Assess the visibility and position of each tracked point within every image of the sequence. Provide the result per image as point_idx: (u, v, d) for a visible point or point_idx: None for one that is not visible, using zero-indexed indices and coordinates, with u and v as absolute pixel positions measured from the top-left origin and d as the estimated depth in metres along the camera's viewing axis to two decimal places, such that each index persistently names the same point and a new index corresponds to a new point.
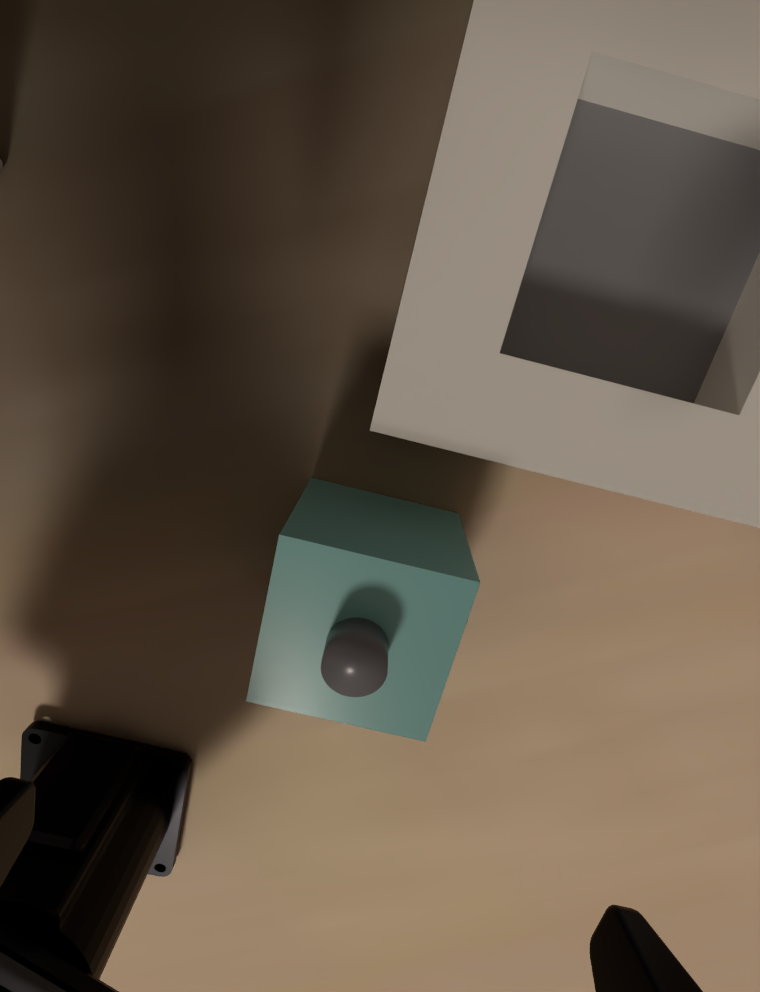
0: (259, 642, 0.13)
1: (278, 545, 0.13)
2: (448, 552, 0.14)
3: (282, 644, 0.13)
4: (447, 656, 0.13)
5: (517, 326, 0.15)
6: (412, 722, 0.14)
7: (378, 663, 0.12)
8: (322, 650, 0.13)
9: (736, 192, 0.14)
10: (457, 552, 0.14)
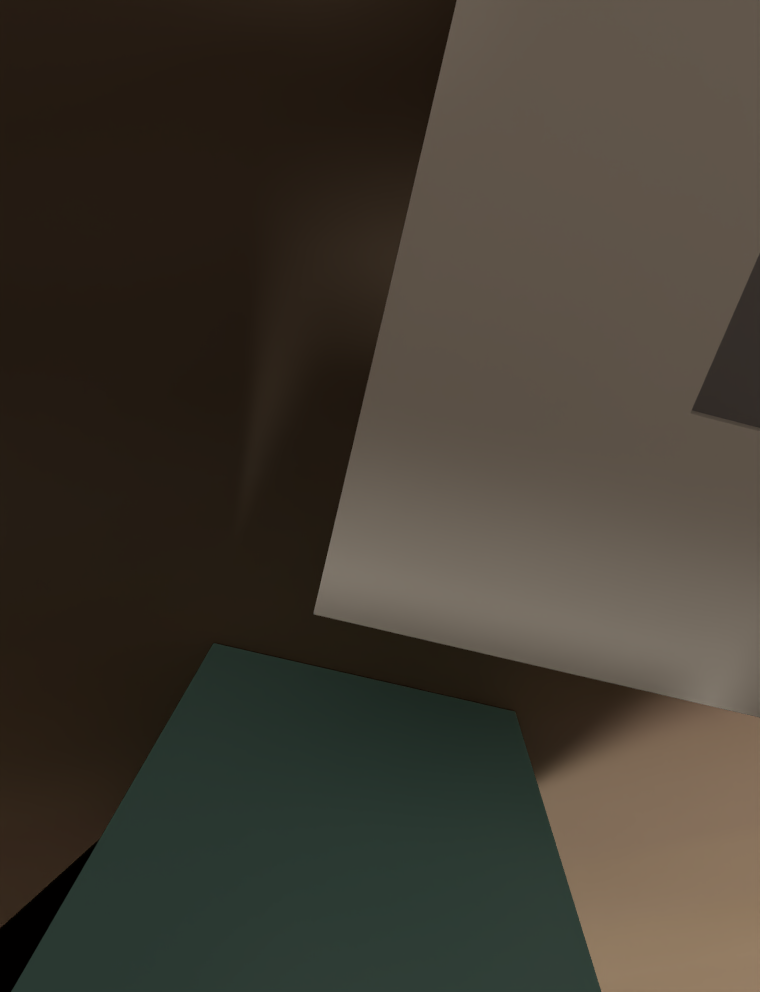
0: None
1: None
2: (529, 959, 0.05)
3: None
4: None
5: None
6: None
7: None
8: None
9: None
10: (552, 948, 0.05)
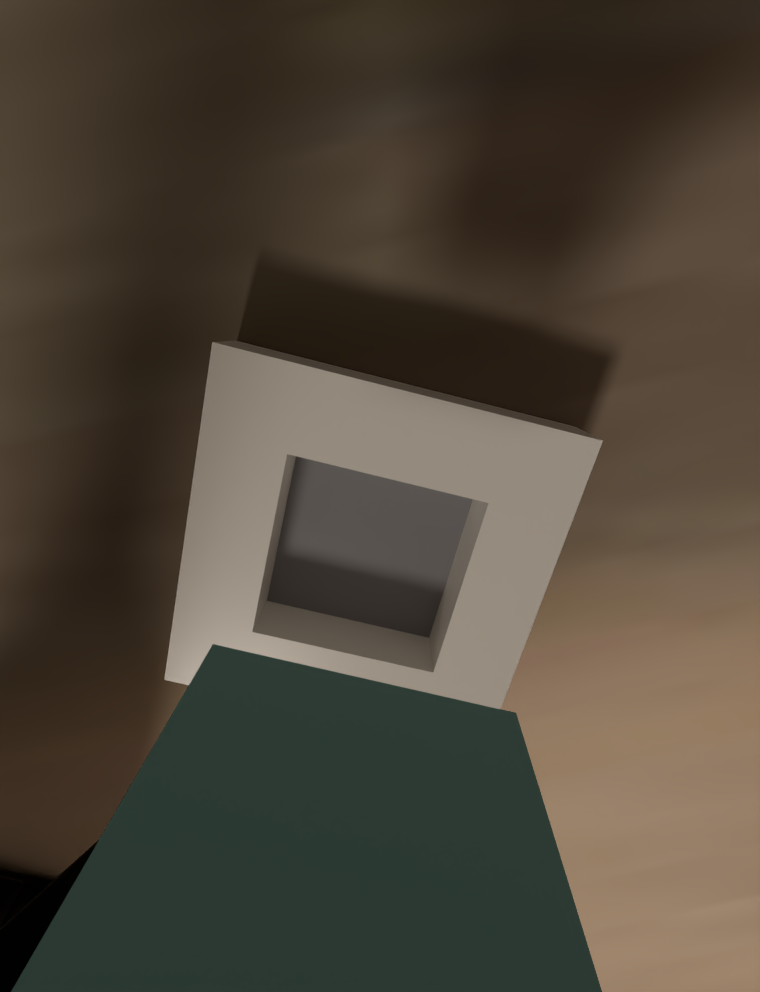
0: None
1: None
2: (530, 965, 0.05)
3: None
4: None
5: (288, 585, 0.20)
6: None
7: None
8: None
9: (435, 502, 0.19)
10: (554, 955, 0.05)
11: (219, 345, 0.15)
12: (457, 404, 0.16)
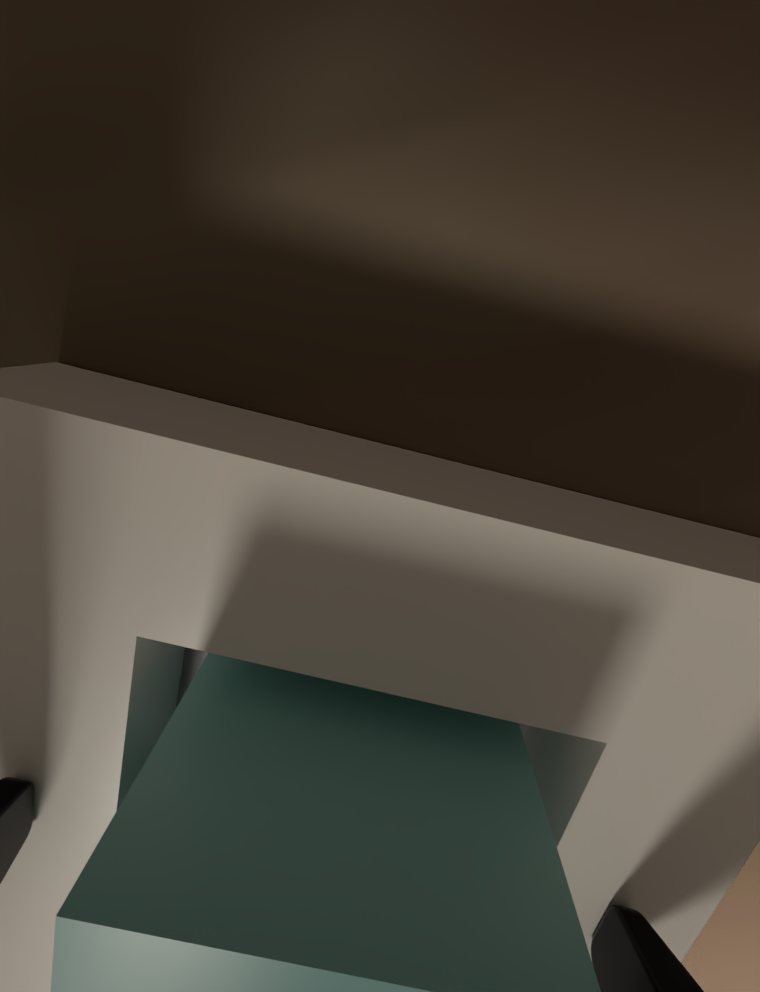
0: None
1: (59, 936, 0.05)
2: (508, 862, 0.06)
3: None
4: None
5: None
6: None
7: None
8: None
9: None
10: (528, 856, 0.06)
11: None
12: (546, 531, 0.06)
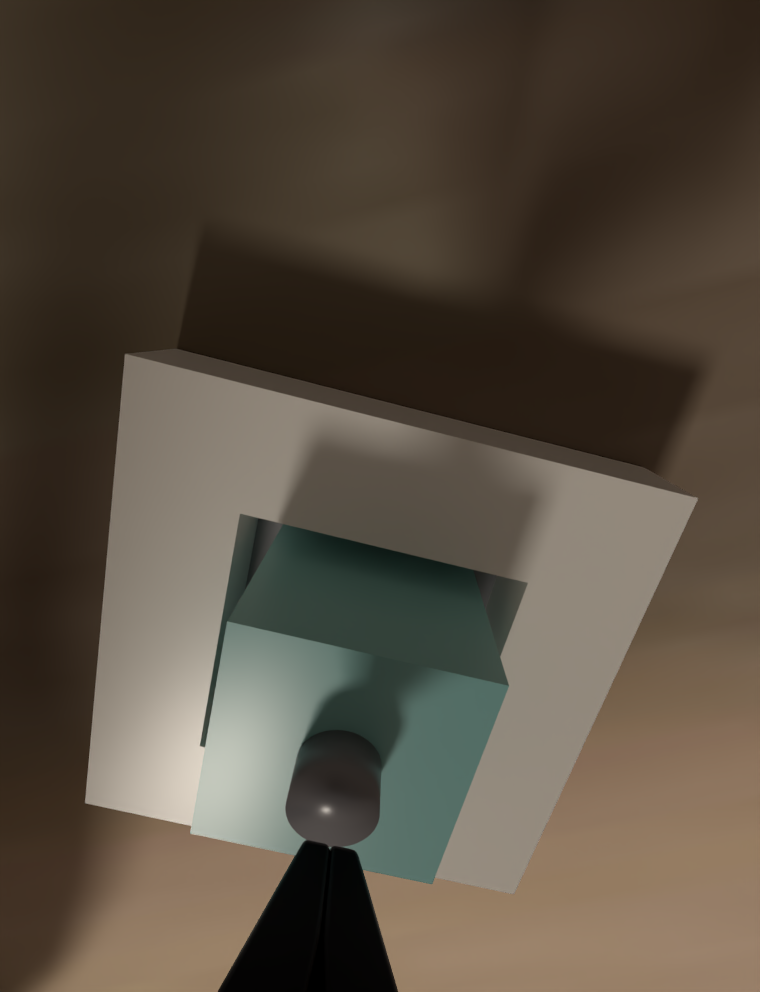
0: (205, 761, 0.10)
1: (226, 635, 0.09)
2: (462, 632, 0.10)
3: (236, 762, 0.10)
4: (462, 779, 0.10)
5: None
6: (414, 860, 0.10)
7: (366, 803, 0.09)
8: (291, 771, 0.10)
9: None
10: (474, 632, 0.10)
11: (135, 358, 0.10)
12: (486, 445, 0.11)
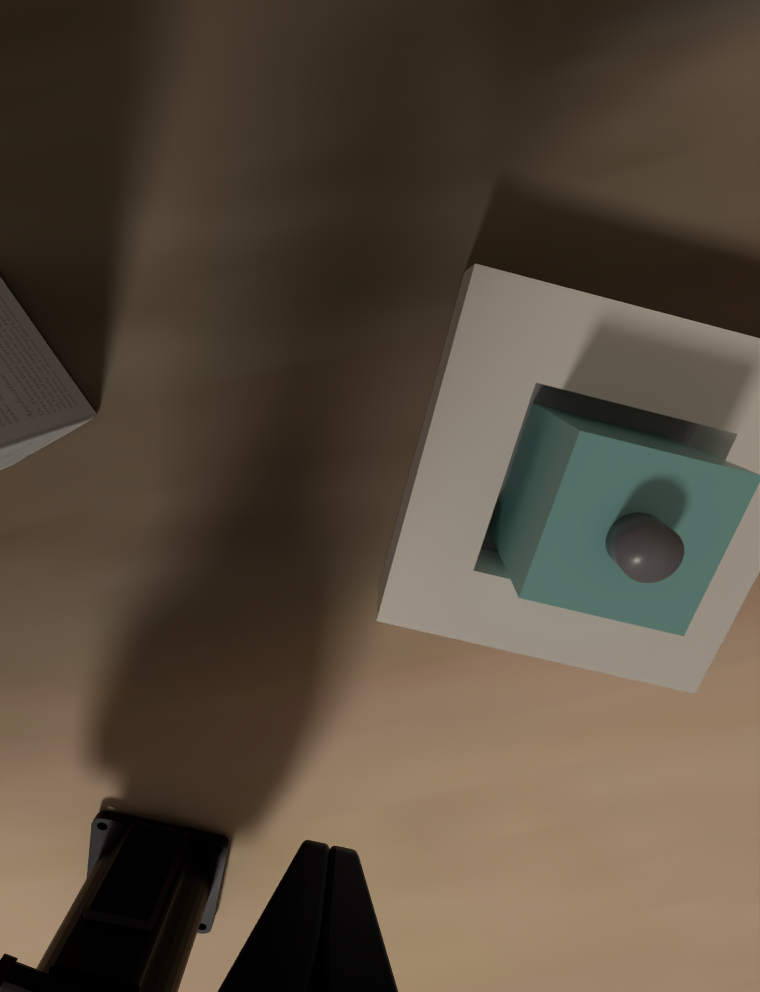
0: (542, 538, 0.14)
1: (576, 441, 0.14)
2: (708, 457, 0.15)
3: (564, 539, 0.14)
4: (718, 550, 0.14)
5: (489, 529, 0.20)
6: (674, 617, 0.15)
7: (676, 548, 0.13)
8: (601, 545, 0.14)
9: None
10: (715, 458, 0.15)
11: (482, 266, 0.15)
12: (719, 328, 0.15)
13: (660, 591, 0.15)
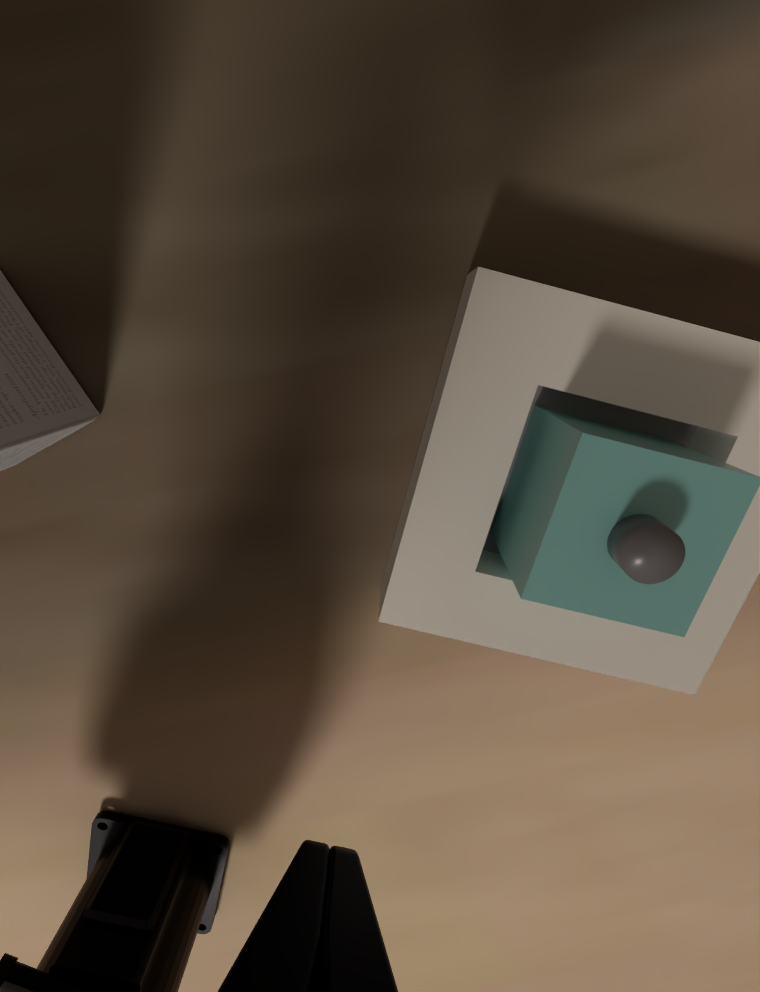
0: (545, 539, 0.14)
1: (579, 443, 0.14)
2: (709, 459, 0.15)
3: (566, 541, 0.14)
4: (719, 552, 0.14)
5: (491, 530, 0.20)
6: (675, 618, 0.15)
7: (677, 549, 0.13)
8: (602, 547, 0.14)
9: None
10: (715, 460, 0.15)
11: (485, 270, 0.15)
12: (720, 332, 0.15)
13: (661, 592, 0.15)
